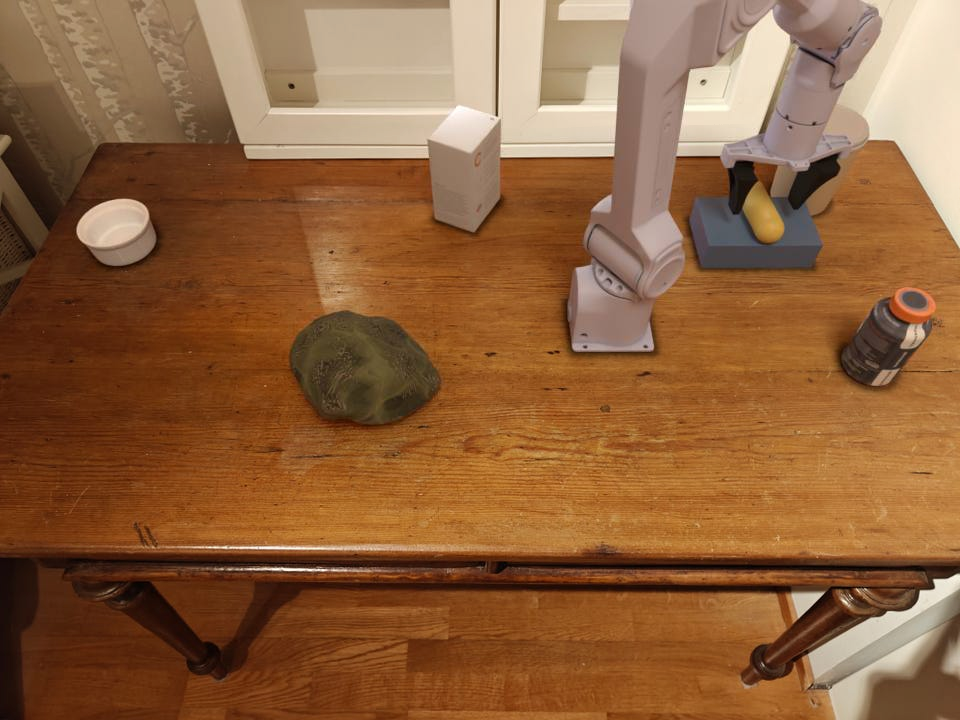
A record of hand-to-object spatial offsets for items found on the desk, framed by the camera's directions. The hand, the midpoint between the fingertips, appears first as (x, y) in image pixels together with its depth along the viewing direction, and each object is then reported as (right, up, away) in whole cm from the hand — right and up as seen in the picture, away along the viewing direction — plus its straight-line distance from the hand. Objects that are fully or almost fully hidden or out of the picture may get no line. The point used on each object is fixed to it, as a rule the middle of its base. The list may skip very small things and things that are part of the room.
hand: (763, 206), depth 87 cm
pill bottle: (+9, -20, -7) cm, 23 cm away
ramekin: (-82, -4, +6) cm, 82 cm away
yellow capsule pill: (0, 0, 0) cm, 1 cm away
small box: (-37, +2, +10) cm, 38 cm away
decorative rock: (-48, -22, -8) cm, 53 cm away
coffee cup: (+9, +3, +10) cm, 14 cm away
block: (0, -4, +5) cm, 6 cm away
